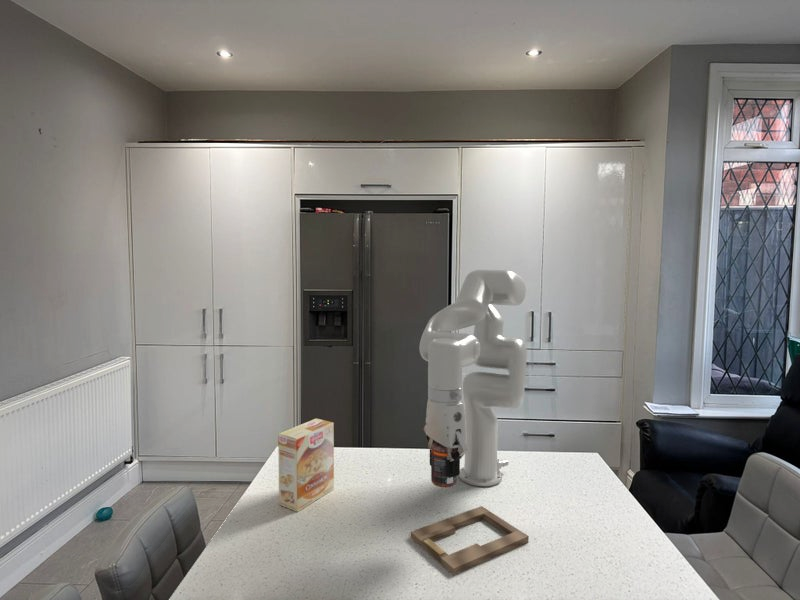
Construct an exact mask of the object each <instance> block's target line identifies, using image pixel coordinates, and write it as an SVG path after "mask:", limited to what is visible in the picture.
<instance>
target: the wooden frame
mask: <svg viewBox="0 0 800 600" xmlns="http://www.w3.org/2000/svg"><path fill="white" fill-rule="evenodd" d="M483 520H484V521H486V522H487V523H488V524H490V525H491V526H493V527H494V528H496V529H498V530H499V529H500V530H499V531H501V532H502V531H503V532H502V533H503V534H505V535H504V536H501V537H498V538H496V539H494V540H491V541H489V542H487V543H484V544H482V545H480V544H479V543H474V544H472V545H469V546H467V547H464V548H462V549H460V550H457V551H455V552H452V553H450V554H448V552H446V551H445V550H444V549H443V548H441V546H440V545H438V544H437V543H435V542H437V541H440V540H442V539H445V538H447V537H450V536H452V535H454V534H455V535H456V530H460V529H462V528H465V527H466V526H469V525H471V524H475V523H477V522H480V521H483ZM476 521H477V522H476ZM474 522H475V523H474ZM506 534H507V535H506ZM410 539H411V540H412V541H414V542H415V543H416V544H417V545H418V546H419V547H421V549H423V550H424V551H425V552H426V553H427V554H428V555H430V556H431V557H432V558H433V559H434V560H435V561H436V562H438V563H439V564H440V565H441V566H442V567H444V569H445V570H447V571H448V572H449V573H450V574H451V575H452V576H455V575H458V574H460V573H462V572H464V571H467V570H469V569H471V568H473V567H476V566H477V565H480V564H482V563H485V562H487V561H490V560H491V559H494V558H496V557H498V556H501V555H503V554H506V553H507V552H510V551H512V550H514V549H515V550H516V548H519V547H522V546H523V545H526V544H528V543H529V535H527V534H526V533H525V532H523V531H522V530H520V529H518V528H516V527H515V526H514V525H512V524H510V523H509V522H507V521H506V520H504V519H503V518H501V517H499V516H498V515H497V514H495V513H494V512H491V511H490V510H489V509H487V508H485V507H484V506H483V505H481V506H478V507H476V508H471V509H469V510H467V511H464V512H461V513H458V514H455V515H453V516H450V517H447V518H445V519H441V520H439V521H436V522H433V523H431V524H428V525H425V526H422V527H419V528H417V529H414V530H411V531H410Z"/></svg>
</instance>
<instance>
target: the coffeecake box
mask: <svg viewBox="0 0 800 600" xmlns="http://www.w3.org/2000/svg"><path fill="white" fill-rule="evenodd" d="M334 424H335V423H334V422H333V421H330V420H329V421H328V420H325V419H320V418H314V419H312V420H309V421H307V422H304V423H302V424H299V425H296V426H294V427H292V428H289V429H287V430H285V431H283V432H282V431H281V432H279V433H278V434H277V438H278V441H277V443H278V447H277V448H278V449H277V451H278V505H279V506H281V505H282V506H281V507H285V508H286V507H287V509H289V510H291V509H292V510H291V511H293V510H294V511H293V512H296V511H297V512H296V513H299V512H300V511H302V510H304V509H305V508H306V507H308V506H310V505H311V504H312V503H315V502H316V501H317V500H319V499H321V498H323V496H325V495H327V494H328V493H330V492H331V491H334V489H335V486H334V485H335V480H334V479H335V473H334V472H335V470H334V469H335V467H334V466H335V462H334V461H335V458H334V457H335V455H334V453H335V452H334V451H335V449H334V448H335V447H334V445H335V443H334V442H335V438H334V437H335V435H334V433H335V432H334V428H335V427H334V426H335V425H334ZM298 511H299V512H298Z"/></svg>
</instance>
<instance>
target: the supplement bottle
mask: <svg viewBox="0 0 800 600" xmlns="http://www.w3.org/2000/svg"><path fill="white" fill-rule="evenodd" d="M453 445H455V443H453ZM455 452H456V451H455V448H454V449H452V453H453V454H454V453H455ZM447 460H449V458H448V453H447V448H446V447H445V446H443V445H441V444H440V443H438V442H434V443H433V444H432V448H431V465H430V477H431V478H430V479H431V483H432V484H433V485H434V486H436V487H439V488H451V487H453V486H455V485H456V484H457V482H458V476H454V477H451V478H448V477H447Z"/></svg>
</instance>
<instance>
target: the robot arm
mask: <svg viewBox="0 0 800 600" xmlns="http://www.w3.org/2000/svg"><path fill="white" fill-rule="evenodd" d="M526 291H527V290H526V283H525V281H524V279H523V278H522V277H521V276H520V274H519V275H518V273H515V272H514V271H512V270H508V269H507V270H506V269H477V270H473V271H471V272H469V273H468V274H467V275H466V277H465V278H464V281H463V283H462V285H461V287H460V291H459V293H458V295H457V297H456V300H455V302H453V303H451V304H449V305H447V306H446V307H444V308H442V309H441V310H440V311H438V312H436V313H435V314H433V316H432V317H431V318H430V319H429V320H428V321H427V324H426V326H425V328H424V330H423V332H422V335H421V338H420V341H419V345H418V346H419V354H420V356H421V358H422V359H423V360H425V362H427V364H428V365H427V366H428V367H427V374H428V375H427V385H428V386H427V402H426V414H425V425H424V427H423V431H424V433H425V435H426V440H427V442H428V444H427V447H428V449H429V466H431V448H432V444H433V443H434V442H438V443H440V444H441V445H443V446H445V447H446V448H447V453H448V458H449V460H447V477H448V478H451V477H454V476H457V477H458V476H459V478H460V479H461V481H463V482H464V483H466V484H469V485H471V486H477V487H491V486H492V487H493V486H496V485H498V484H499V483H501V482H502V480H503V474H502V473H503V472H501V471H500V469H502V468H503V467H507V466H509V460H508V459H506V458H505V459H501V460H500V458H498V442H499V441H498V439H499V437H498V433H499V432H498V431H499V421H498V417H497V414H496V413H495V411H494V409H493V408H500V409H509V410H516V409H519V408H521V406H522V404H523V402H524V397H525V386H526V373H527V359H528V355H527V354H528V353H527V346H526V343H525V342H524V341H523V340H522V339H520V338H517V337H508V336H506V337H504V336H503V332H504V320H503V317H502V315H501V314H500V312H499V311H498V310H497V308H495V306H511V307H512V306H514V307H515V306H520V305H522V303H524V300H525V298H526ZM472 326H474V328H473V334H469V333H463V332H462V333H459V332H453V331H457V330H461V329H466V328H469V327H472ZM472 365H475V366H477V367H479V368H484V369H494V370H503V371H507V372H508V374H505V373H504V374H503V373H495V372H488V371H487V372H486V371H473V372H472V371H471V372H469V373H468V374H466V375H465V377H464V378H462V377H463V371H462V370H463V368H465V367H469V366H472ZM462 380H463V381H462ZM462 395H463V397H462ZM462 398H463V400H464V402H463V400H462ZM453 443H455V445H453ZM454 448H455V451H456V452H455V453H454V454H453V453H452V449H454ZM462 457H464V466H463V467H461V465H460V464H461V463H460V462H461V460H462ZM460 467H461V468H460Z"/></svg>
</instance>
